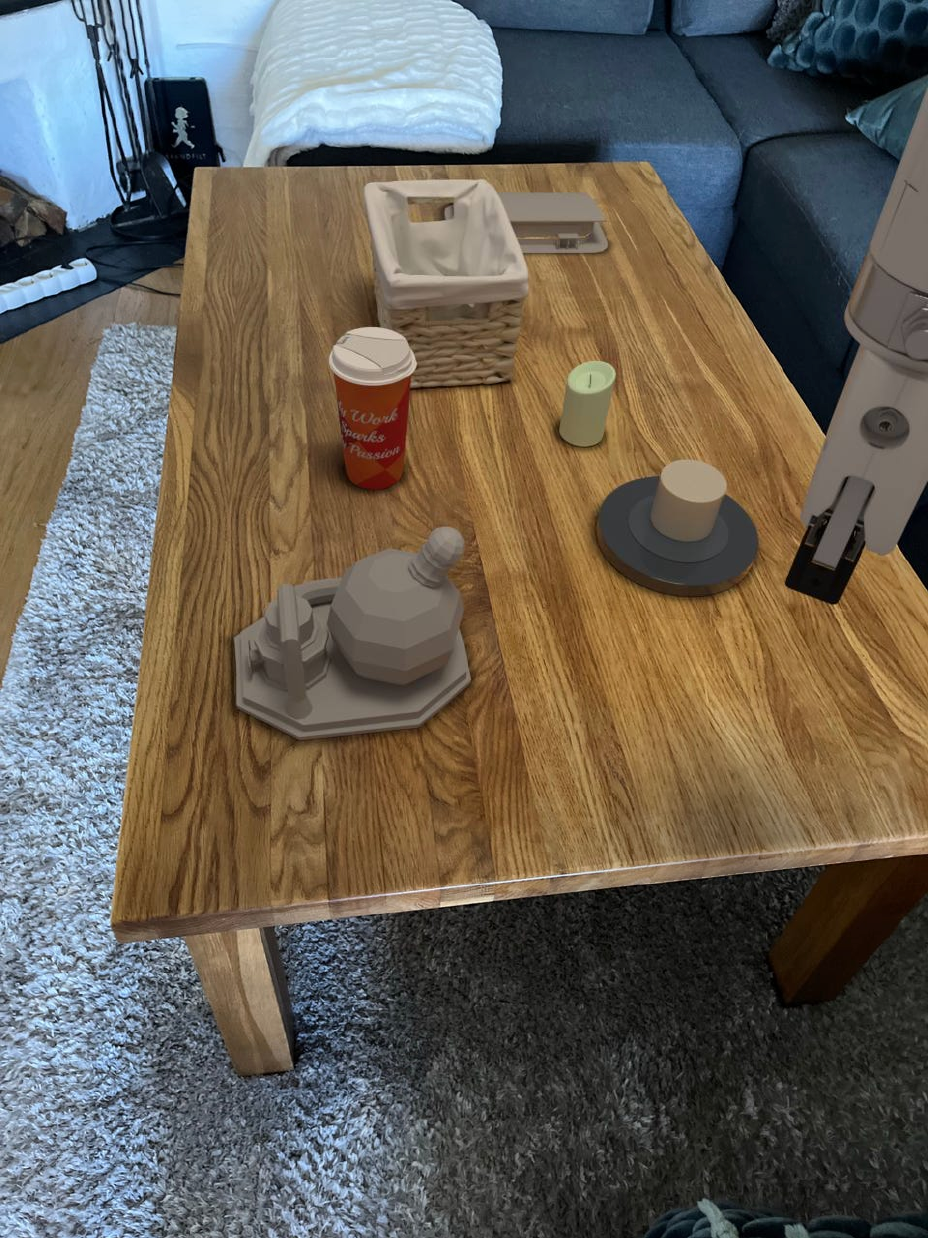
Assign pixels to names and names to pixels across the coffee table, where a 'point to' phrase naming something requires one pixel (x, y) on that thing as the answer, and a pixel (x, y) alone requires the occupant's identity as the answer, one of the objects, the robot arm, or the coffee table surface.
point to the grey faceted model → (359, 646)
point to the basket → (448, 279)
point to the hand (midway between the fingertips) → (813, 587)
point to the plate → (674, 544)
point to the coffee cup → (373, 403)
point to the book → (553, 221)
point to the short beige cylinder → (687, 500)
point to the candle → (587, 403)
